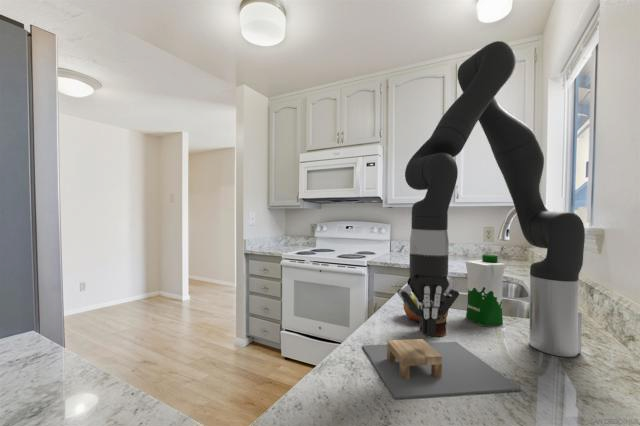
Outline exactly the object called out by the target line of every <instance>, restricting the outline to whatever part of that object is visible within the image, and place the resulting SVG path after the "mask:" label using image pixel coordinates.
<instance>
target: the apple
mask: <svg viewBox="0 0 640 426" xmlns="http://www.w3.org/2000/svg"><path fill="white" fill-rule="evenodd" d="M411 294H412V297H411V299H412V300H413V302H414V303H415V304H416V306H417V307H418V304H417V299H416V297H415V295H414V294H413V293H411ZM403 310H404V312H405V315H406V316H407V317H408V318H409V319H411V320H412V321H415V322H419V323H420V317H419V316H416V315H415V314H414V313H412V312H411V311H410V310H409V308H408V307H407V305H406V304H405V303H404V302H403Z"/></svg>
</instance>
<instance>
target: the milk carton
mask: <svg viewBox="0 0 640 426" xmlns="http://www.w3.org/2000/svg"><path fill="white" fill-rule="evenodd" d="M498 257H499V256H498V255H496V254H482V260H481V259H479V260H474V259H473V260H465V262H464V263H465V267H466V271H467V303H466V304H467V305H466V315H465V319H467V320H469V321H471V322H474V323H476V324H479V325H481V326H483V327H489V326H497V325H498V326H500V325H503V324H504V323H503V322H504V320H503V318H504V317H503V277H504V273H505V268H506V263H501V262H498V259H499V258H498Z"/></svg>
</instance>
